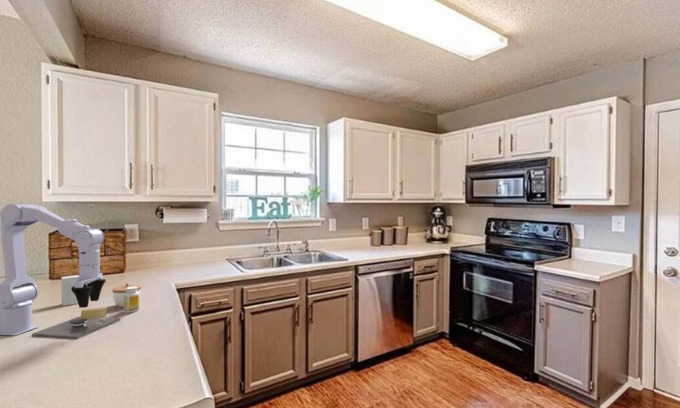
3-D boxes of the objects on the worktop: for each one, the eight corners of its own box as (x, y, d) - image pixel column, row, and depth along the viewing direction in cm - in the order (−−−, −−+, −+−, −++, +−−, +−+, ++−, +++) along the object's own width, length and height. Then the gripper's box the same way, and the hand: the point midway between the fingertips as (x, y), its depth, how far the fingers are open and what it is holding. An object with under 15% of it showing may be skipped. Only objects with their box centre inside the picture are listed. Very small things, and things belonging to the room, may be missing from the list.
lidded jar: (106, 307, 144) (106, 285, 144) (130, 300, 154) (130, 280, 154) (123, 309, 140) (123, 287, 140) (146, 303, 150) (146, 282, 150)
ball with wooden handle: (67, 324, 116) (67, 313, 116) (72, 320, 121) (72, 309, 121) (104, 320, 121) (104, 310, 121) (107, 316, 125) (107, 306, 125)
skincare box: (78, 301, 152) (78, 275, 152) (79, 303, 149) (79, 276, 149) (61, 304, 148) (61, 277, 148) (62, 306, 145) (62, 278, 145)
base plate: (32, 335, 112) (32, 329, 112) (80, 318, 130) (80, 312, 130) (77, 338, 110) (77, 332, 110) (120, 320, 128) (120, 314, 128)
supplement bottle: (121, 313, 136) (121, 289, 136) (128, 308, 141) (128, 286, 142) (135, 312, 137) (135, 289, 137) (141, 308, 142) (141, 285, 142)
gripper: (92, 267, 109) (92, 309, 109) (111, 260, 123) (111, 297, 123) (67, 268, 107) (66, 311, 107) (89, 261, 122) (89, 298, 122)
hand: (89, 303), depth 115 cm, fingers open, 7 cm apart
